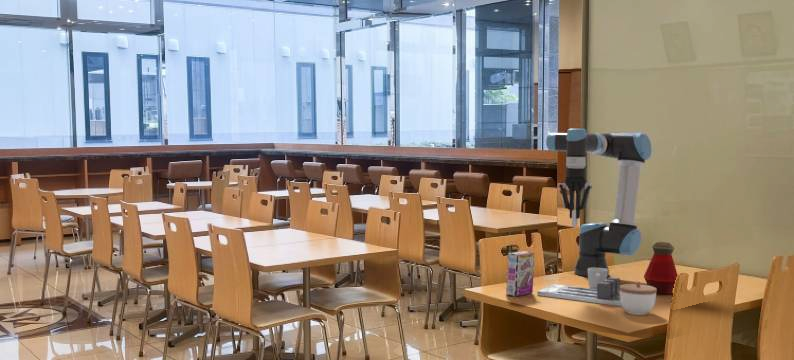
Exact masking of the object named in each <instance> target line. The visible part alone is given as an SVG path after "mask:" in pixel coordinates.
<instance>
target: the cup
mask: <svg viewBox="0 0 794 360" xmlns="http://www.w3.org/2000/svg"><path fill="white" fill-rule="evenodd" d="M607 273H608V270H607V269H604V268H588V276H587V280H588V281H587V283H588V287H589V289H597V284H598V283H599V282H602V281H603V280H605V279H608V276H607Z"/></svg>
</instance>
